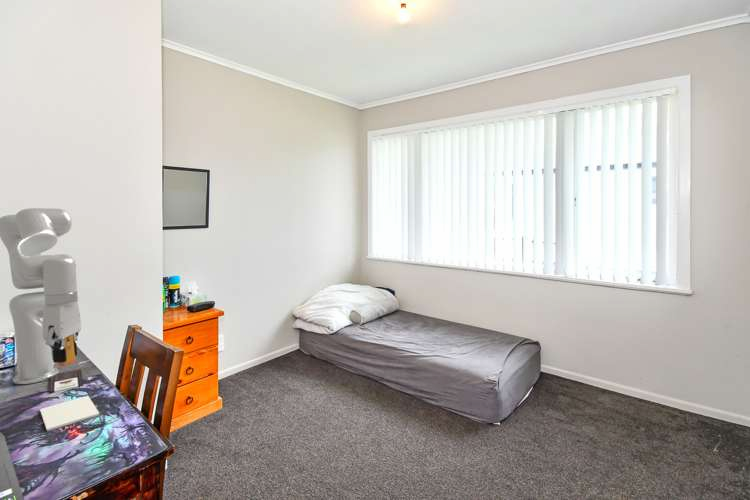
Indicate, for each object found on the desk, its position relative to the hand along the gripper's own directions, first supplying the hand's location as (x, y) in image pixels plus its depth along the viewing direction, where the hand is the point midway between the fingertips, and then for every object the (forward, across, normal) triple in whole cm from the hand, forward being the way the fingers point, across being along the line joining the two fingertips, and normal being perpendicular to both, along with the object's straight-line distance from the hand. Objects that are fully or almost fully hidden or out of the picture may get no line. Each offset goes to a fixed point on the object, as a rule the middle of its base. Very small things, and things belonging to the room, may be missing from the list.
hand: (65, 358), depth 113 cm
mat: (+17, 0, 0) cm, 17 cm away
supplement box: (+2, 0, 0) cm, 2 cm away
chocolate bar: (+18, -25, -16) cm, 34 cm away
